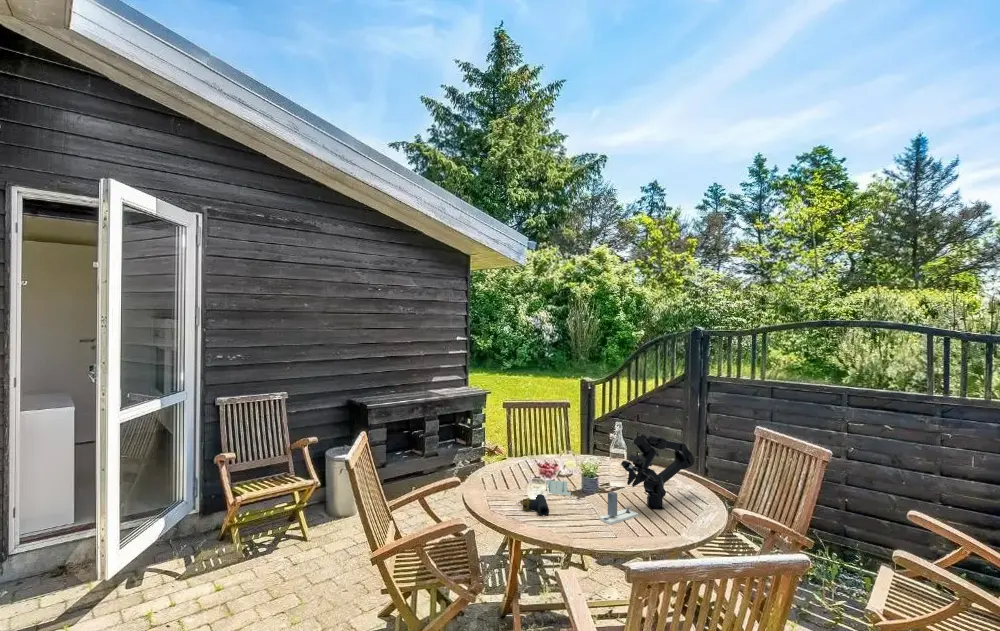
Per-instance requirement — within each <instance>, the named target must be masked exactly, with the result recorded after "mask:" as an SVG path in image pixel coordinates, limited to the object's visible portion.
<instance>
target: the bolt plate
mask: <svg viewBox="0 0 1000 631" xmlns="http://www.w3.org/2000/svg"><path fill="white" fill-rule="evenodd" d="M637 516H638V517H639V513H638V512H636V511H632V510H630V506H626V508H624V509H621V510H617V516H614V517H611V516H609V515H608V513H607V514H603V515H599V516H598V520H599V521H601V522H603V523H604V524H607V525H609V526H612V525H613V524H619V523H621V522H624V520H625V521H627V519H628V520H631V519H634V518H636V517H637ZM630 518H631V519H630Z"/></svg>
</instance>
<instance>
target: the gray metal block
mask: <svg viewBox="0 0 1000 631" xmlns="http://www.w3.org/2000/svg"><path fill="white" fill-rule="evenodd" d="M617 511H618V493H617V492H615V491H610V492H607V514H608V515H609V516H611V517H614V516H617Z"/></svg>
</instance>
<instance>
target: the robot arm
mask: <svg viewBox="0 0 1000 631" xmlns="http://www.w3.org/2000/svg"><path fill="white" fill-rule="evenodd" d="M633 444H634V445H635V447H636V448H637V449H638V451H639V452H640V453H641V454H640V455H634V454H629V456H628V460H622V461H621V463H620V465H621V466H622V467H623V469H624V470H625V471H626V472H628V477H627V485H628V486H630V485H631V486H632V487H633V488H634V487H636V486H638V485H640V484H641V483H643V484H642V485H643V488H644V492H645V493H647V495H646V505H647V506H648V508H650V510H664V509H665V507H664V504H663V502H664V499H663V498H664V497H665V496H666V494H667V490H665V484H666V483H667V482H668V481H669V480H671V479H672V478H673V477H674V476H675V475H677V474H678V473H679V472H680V471H682V470H684V469H685V470H686V469H689V468H691V467H693V465H694V464H695V458H694V456H693V453H692V452H691V451H690V449H688V447H687V445H686V444H685V443H683V442H681V441H673V440H668V439H666V438H664V437H660V436H658V435H653V434H651V435H649V437H647V436H646V434H643V433H642V434H640V435H639V436H637V437H634V439H633ZM666 449H670V450H674V451H673V452H674V453H673V454H674V461H673V462H671V464H669V465H668V466H667V467H666V468H664V469H663V470H662V471H660V472H659V473H658V474H657V472H656V471H655V470H654V469H651V468H649V467H652V466H653V460H654V459H655V457H659V456H660V454H659V450H666ZM631 462H632V463H631Z"/></svg>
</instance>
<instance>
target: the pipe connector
mask: <svg viewBox="0 0 1000 631" xmlns="http://www.w3.org/2000/svg"><path fill="white" fill-rule="evenodd" d="M536 496H537V497H536ZM536 496H535V498H536V499H535V498H534V499H533V498H523V499H522V503H523V504H522V509H523V511H524V512H526V511H527V512H528V511H529V512H530V511H531V510H538V514H539V516H541V517H544V516H543V515H547V516H548V515H549V514H550V508H549V505H548V502H547V499H546V497H545V495H542V493H539V494H537V495H536Z"/></svg>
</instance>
